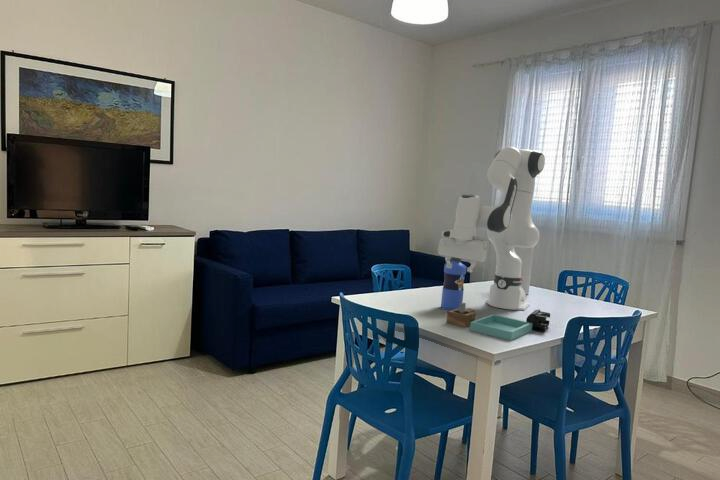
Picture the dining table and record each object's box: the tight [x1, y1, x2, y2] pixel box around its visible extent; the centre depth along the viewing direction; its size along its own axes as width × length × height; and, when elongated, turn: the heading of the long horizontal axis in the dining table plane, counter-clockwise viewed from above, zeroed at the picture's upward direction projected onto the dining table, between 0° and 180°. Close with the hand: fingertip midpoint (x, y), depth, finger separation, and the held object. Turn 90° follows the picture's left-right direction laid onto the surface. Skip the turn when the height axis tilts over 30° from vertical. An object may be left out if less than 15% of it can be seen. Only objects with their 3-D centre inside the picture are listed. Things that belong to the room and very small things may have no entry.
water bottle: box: [440, 257, 467, 311], centre depth 227 cm, size 9×9×25 cm
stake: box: [458, 302, 466, 314], centre depth 203 cm, size 2×2×8 cm
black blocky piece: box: [525, 309, 551, 333], centre depth 204 cm, size 10×7×7 cm
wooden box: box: [446, 307, 477, 328], centre depth 205 cm, size 13×8×4 cm, turn 142°
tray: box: [469, 313, 533, 341], centre depth 197 cm, size 20×16×3 cm
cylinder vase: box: [514, 246, 535, 296], centre depth 277 cm, size 12×12×25 cm
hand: (459, 270), depth 205 cm, fingers open, 8 cm apart
